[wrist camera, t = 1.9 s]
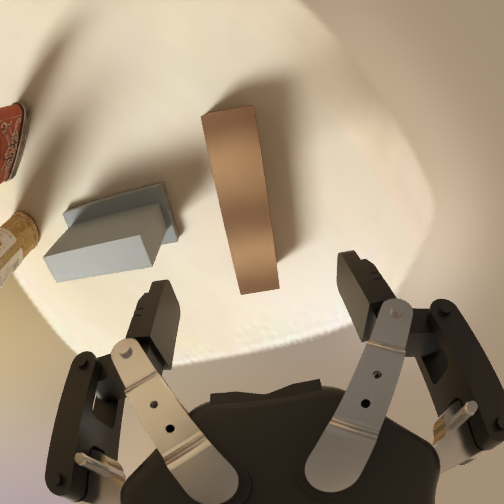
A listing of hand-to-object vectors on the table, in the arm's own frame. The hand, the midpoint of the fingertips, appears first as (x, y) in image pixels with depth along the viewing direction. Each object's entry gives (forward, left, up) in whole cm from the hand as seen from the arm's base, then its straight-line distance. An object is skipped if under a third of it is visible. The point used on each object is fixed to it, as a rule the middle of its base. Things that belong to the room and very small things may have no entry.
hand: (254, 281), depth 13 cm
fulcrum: (0, -11, -10) cm, 15 cm away
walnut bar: (0, 0, -11) cm, 11 cm away
